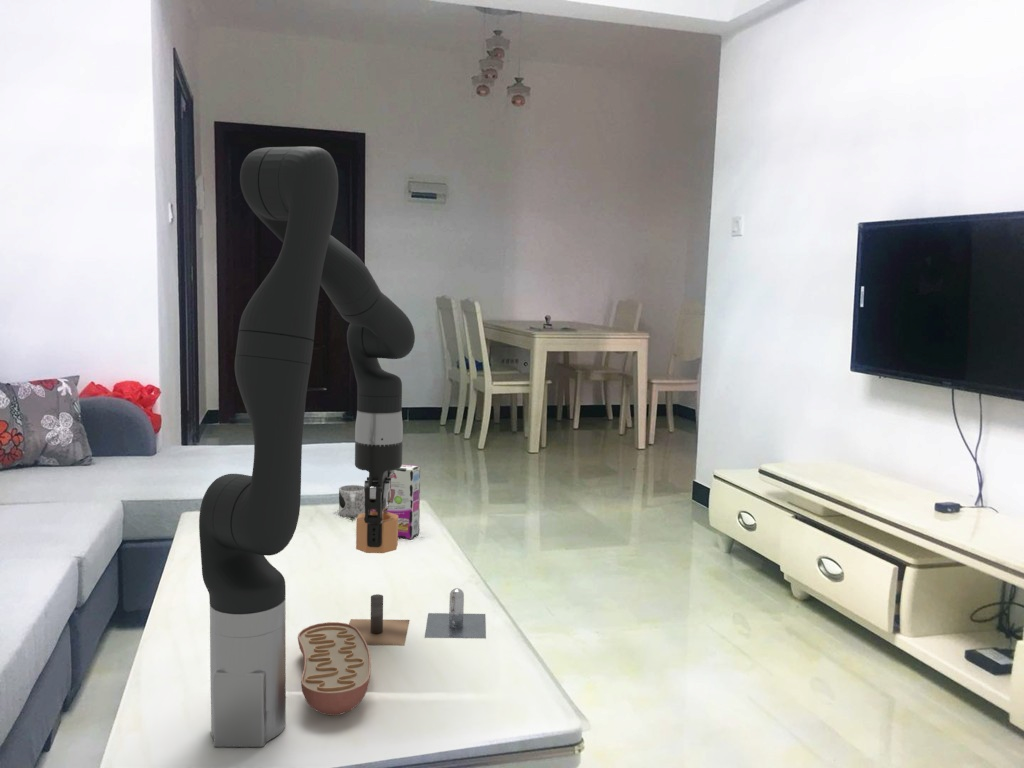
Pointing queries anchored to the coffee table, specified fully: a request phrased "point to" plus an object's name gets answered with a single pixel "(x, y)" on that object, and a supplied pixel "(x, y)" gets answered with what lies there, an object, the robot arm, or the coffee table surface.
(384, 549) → the collar
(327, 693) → the anatomical model
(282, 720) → the robot arm
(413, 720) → the coffee table surface
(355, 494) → the mug
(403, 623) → the stand
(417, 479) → the candy bar box
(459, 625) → the silver peg on base
